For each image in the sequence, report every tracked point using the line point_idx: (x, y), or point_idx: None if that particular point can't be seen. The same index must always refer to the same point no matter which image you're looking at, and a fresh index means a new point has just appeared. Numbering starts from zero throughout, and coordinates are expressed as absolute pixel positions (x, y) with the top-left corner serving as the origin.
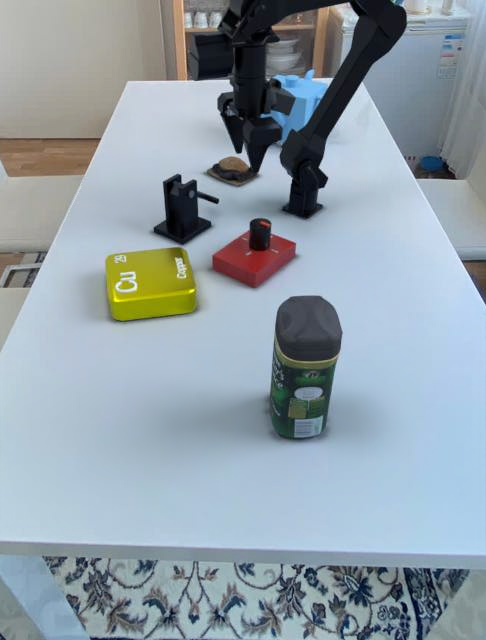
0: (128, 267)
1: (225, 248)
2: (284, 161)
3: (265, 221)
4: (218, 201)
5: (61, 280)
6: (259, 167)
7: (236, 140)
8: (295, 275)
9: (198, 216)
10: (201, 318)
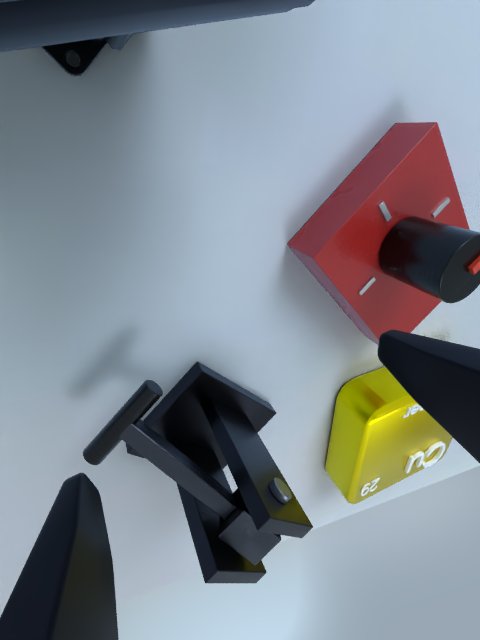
0: (392, 469)
1: (380, 330)
2: (108, 29)
3: (468, 254)
4: (150, 383)
5: (317, 515)
6: (429, 342)
7: (100, 617)
8: (454, 145)
9: (170, 407)
10: (459, 335)
